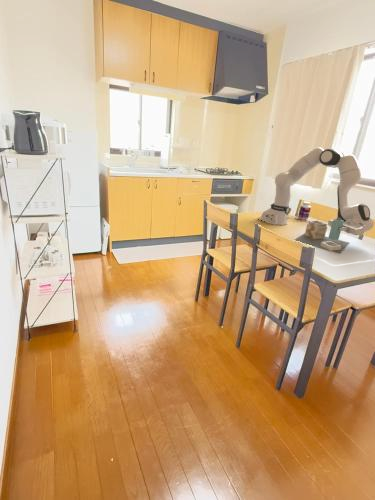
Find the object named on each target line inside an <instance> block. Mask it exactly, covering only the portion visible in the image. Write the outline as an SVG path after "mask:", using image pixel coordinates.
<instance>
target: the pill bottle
mask: <svg viewBox="0 0 375 500" xmlns="http://www.w3.org/2000/svg"><path fill="white" fill-rule="evenodd" d="M311 208H312V206H311V202H310V201H303V202H302V204H301V205H300V207H299V212H298V216H297V218H298V220H301V221H302V220H303V221H308V220H309V216H310V212H311Z"/></svg>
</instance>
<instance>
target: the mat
mask: <svg viewBox="0 0 375 500" xmlns="http://www.w3.org/2000/svg"><path fill="white" fill-rule="evenodd" d="M328 237H329V236H326V235H325V237H324V238H320V239H313V238H311V237H309V236H307V235H305V232H304V233H303V234H301V235H299V236H298V237H296V238H295V239H294V240H296V241H300V242H302V243H301V244H303V243H306V244H305V245H307V244H309V245H308V246H310V245H312V246H311V247H314V246H315V247H314V248H318V249H322V250H325V251H329V252H333V253H335V254H338V255H340V254H341V253H342V252H343V251H344V250H345V249H346V248H347V247H348V245H349V244H350V242H349V241H344V240H340V239H338V240H332V239H330V238H328ZM296 241H295V242H296ZM327 241H332V242H334V243H336V244H338V245H341V249H340V250H332V251H330V250H328V249H326V248H324V247H322V246H320V245H321V242H327ZM300 242H299V243H300Z"/></svg>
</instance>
